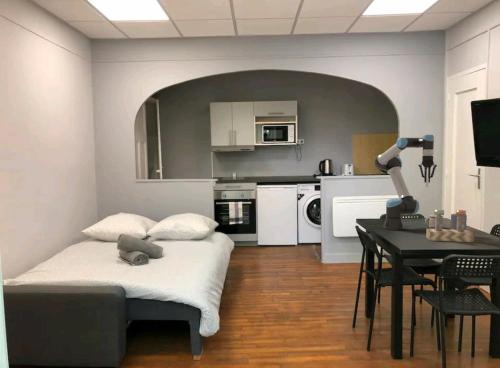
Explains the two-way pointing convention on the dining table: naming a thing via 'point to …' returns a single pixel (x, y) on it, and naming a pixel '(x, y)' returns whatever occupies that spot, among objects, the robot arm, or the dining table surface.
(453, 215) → the container
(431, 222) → the teacup with lid
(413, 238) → the dining table surface
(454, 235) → the press stand
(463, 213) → the terracotta plunger
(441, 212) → the sage plunger
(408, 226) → the dining table surface
